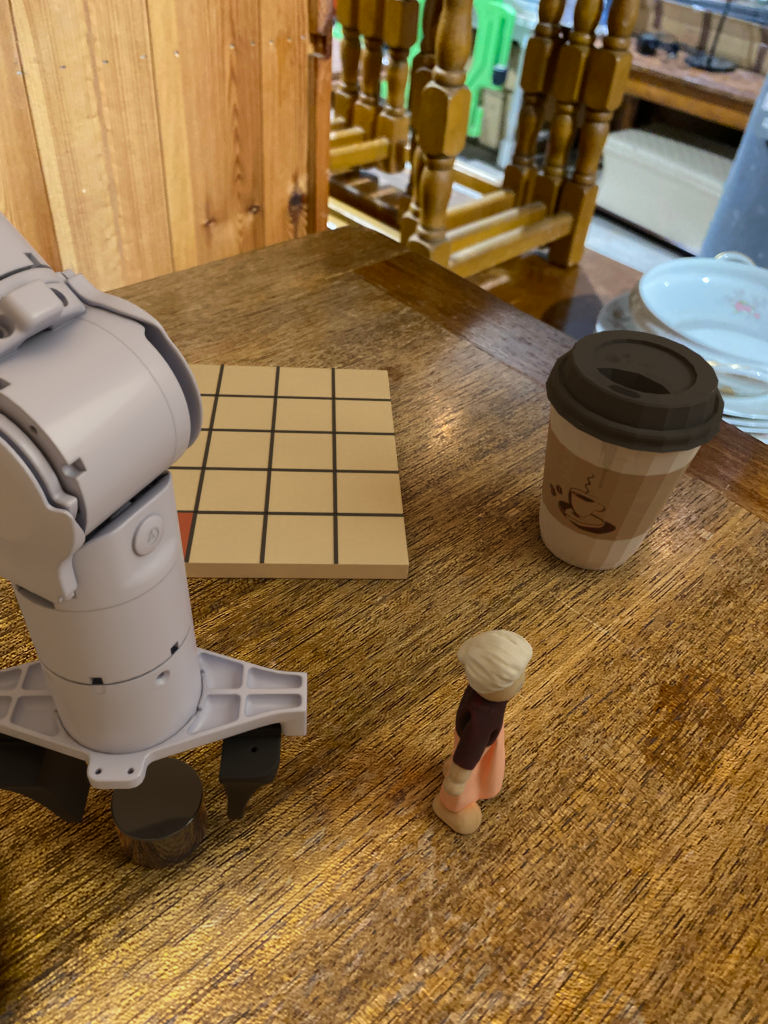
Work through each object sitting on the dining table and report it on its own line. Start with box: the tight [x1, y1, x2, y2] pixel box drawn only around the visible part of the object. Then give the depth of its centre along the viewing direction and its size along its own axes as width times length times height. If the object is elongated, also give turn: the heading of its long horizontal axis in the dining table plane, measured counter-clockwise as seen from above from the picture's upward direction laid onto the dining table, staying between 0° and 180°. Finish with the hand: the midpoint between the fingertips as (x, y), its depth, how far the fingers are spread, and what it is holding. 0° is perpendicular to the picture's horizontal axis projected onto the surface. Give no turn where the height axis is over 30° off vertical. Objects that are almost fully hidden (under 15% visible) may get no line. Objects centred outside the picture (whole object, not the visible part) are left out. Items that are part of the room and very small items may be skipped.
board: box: [168, 363, 410, 580], centre depth 62 cm, size 20×25×2 cm
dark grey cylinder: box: [110, 757, 209, 869], centre depth 39 cm, size 4×4×3 cm
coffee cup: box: [538, 329, 725, 571], centre depth 54 cm, size 11×11×15 cm
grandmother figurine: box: [431, 629, 534, 835], centre depth 39 cm, size 8×4×13 cm, turn 171°
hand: (159, 802), depth 39 cm, fingers open, 7 cm apart
